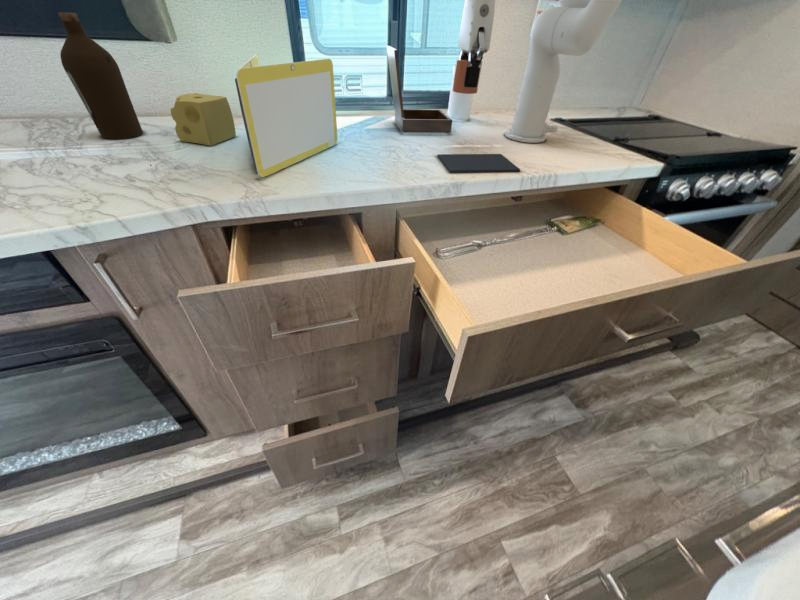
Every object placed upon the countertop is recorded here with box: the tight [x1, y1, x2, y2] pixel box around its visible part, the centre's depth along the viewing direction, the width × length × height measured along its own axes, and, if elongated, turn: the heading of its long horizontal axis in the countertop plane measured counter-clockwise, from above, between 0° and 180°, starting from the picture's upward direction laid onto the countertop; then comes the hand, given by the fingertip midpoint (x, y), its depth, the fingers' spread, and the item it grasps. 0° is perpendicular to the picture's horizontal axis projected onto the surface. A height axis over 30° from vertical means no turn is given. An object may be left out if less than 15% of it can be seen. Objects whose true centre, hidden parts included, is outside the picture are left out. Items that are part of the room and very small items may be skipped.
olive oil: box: [57, 12, 144, 140], centre depth 82 cm, size 11×11×25 cm
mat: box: [437, 153, 521, 174], centre depth 85 cm, size 18×12×1 cm, turn 100°
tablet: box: [234, 53, 338, 178], centre depth 78 cm, size 35×22×20 cm, turn 14°
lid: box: [386, 45, 404, 118], centre depth 100 cm, size 16×15×1 cm
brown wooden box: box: [394, 108, 453, 134], centre depth 108 cm, size 16×15×4 cm
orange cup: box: [453, 58, 483, 95], centre depth 82 cm, size 6×6×6 cm
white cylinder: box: [446, 64, 474, 121], centre depth 117 cm, size 8×8×16 cm
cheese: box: [170, 92, 237, 147], centre depth 87 cm, size 10×11×10 cm
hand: (466, 84), depth 83 cm, fingers closed on orange cup, 6 cm apart
